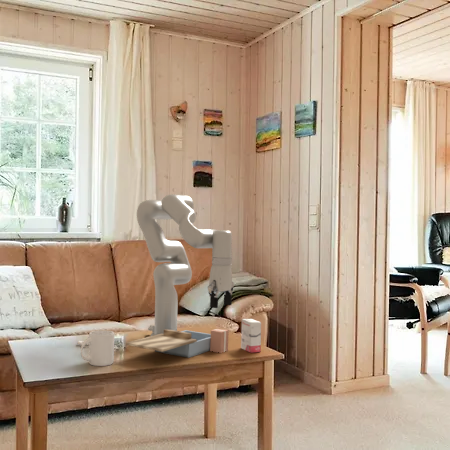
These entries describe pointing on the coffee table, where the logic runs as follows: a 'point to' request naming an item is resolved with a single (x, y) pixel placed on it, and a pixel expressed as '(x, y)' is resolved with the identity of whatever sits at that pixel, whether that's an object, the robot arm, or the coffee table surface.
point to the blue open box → (192, 345)
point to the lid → (164, 341)
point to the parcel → (219, 340)
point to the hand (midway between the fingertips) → (220, 306)
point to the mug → (100, 348)
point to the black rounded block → (83, 342)
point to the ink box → (251, 335)
